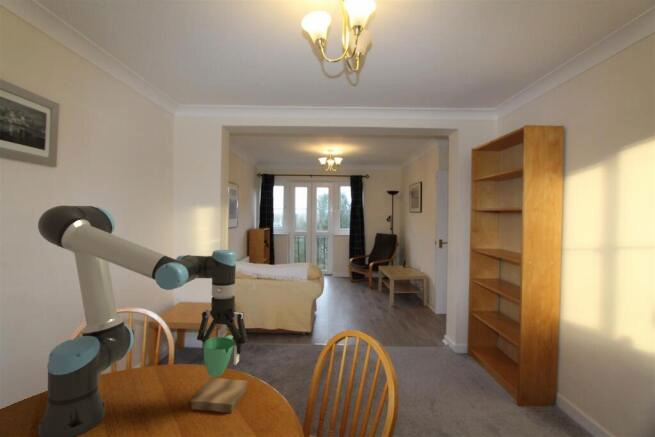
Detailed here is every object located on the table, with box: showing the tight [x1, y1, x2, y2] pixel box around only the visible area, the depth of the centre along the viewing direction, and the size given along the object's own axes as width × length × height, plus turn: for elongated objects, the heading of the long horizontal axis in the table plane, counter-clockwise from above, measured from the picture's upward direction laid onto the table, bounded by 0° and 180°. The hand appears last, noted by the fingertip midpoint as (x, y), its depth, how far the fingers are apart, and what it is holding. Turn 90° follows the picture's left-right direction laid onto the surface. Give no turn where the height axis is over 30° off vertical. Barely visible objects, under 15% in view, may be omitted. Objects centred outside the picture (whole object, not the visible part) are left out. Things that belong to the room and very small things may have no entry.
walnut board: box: [189, 377, 249, 414], centre depth 106 cm, size 14×14×3 cm
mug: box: [202, 334, 236, 378], centre depth 106 cm, size 15×10×10 cm
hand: (221, 361), depth 106 cm, fingers closed on mug, 9 cm apart
